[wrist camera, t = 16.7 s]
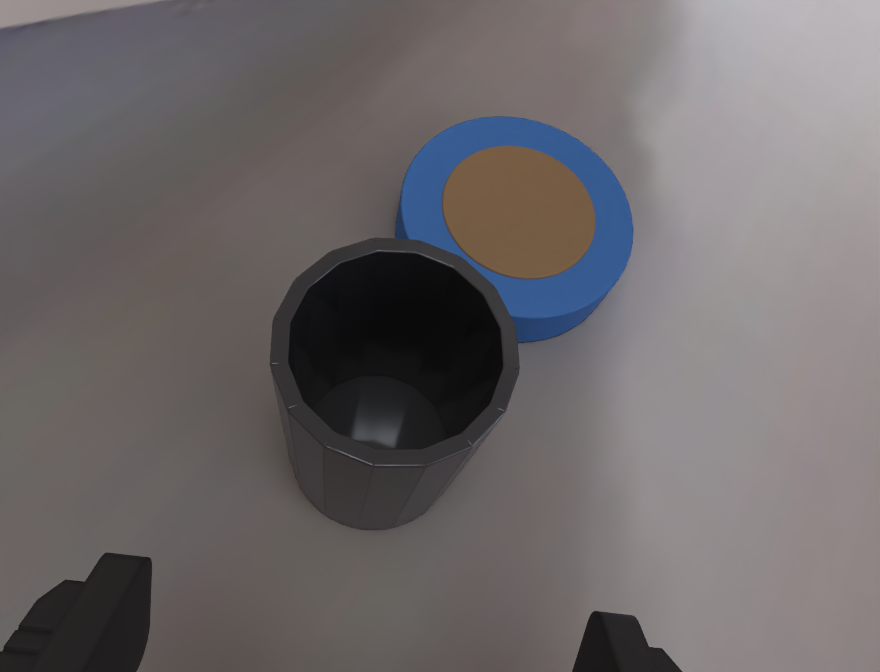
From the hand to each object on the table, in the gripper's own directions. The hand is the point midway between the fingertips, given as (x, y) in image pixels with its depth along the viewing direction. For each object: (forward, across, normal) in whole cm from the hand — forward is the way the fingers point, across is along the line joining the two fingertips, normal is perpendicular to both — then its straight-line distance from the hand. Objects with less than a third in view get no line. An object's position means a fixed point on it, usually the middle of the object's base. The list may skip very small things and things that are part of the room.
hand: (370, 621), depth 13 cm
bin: (+14, 0, +4) cm, 14 cm away
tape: (+21, -4, -3) cm, 21 cm away
